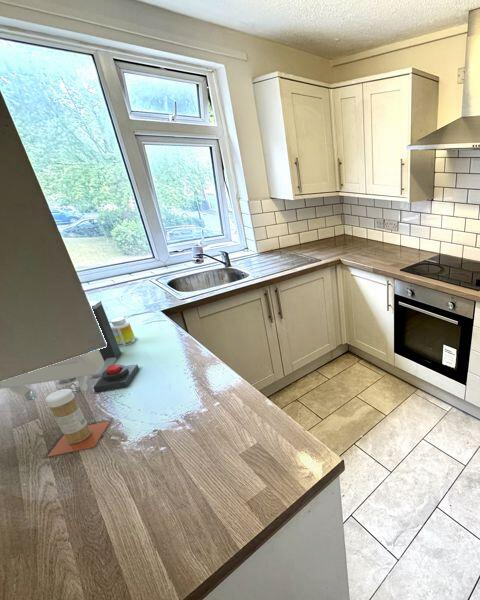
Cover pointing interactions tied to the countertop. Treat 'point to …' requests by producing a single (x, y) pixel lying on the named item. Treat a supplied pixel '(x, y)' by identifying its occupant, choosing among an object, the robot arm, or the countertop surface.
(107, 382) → the power switch
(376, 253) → the countertop surface
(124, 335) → the supplement bottle
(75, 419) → the sprinkles bottle
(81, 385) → the robot arm
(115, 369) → the power button
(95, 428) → the coaster
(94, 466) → the countertop surface
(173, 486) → the countertop surface
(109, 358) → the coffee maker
